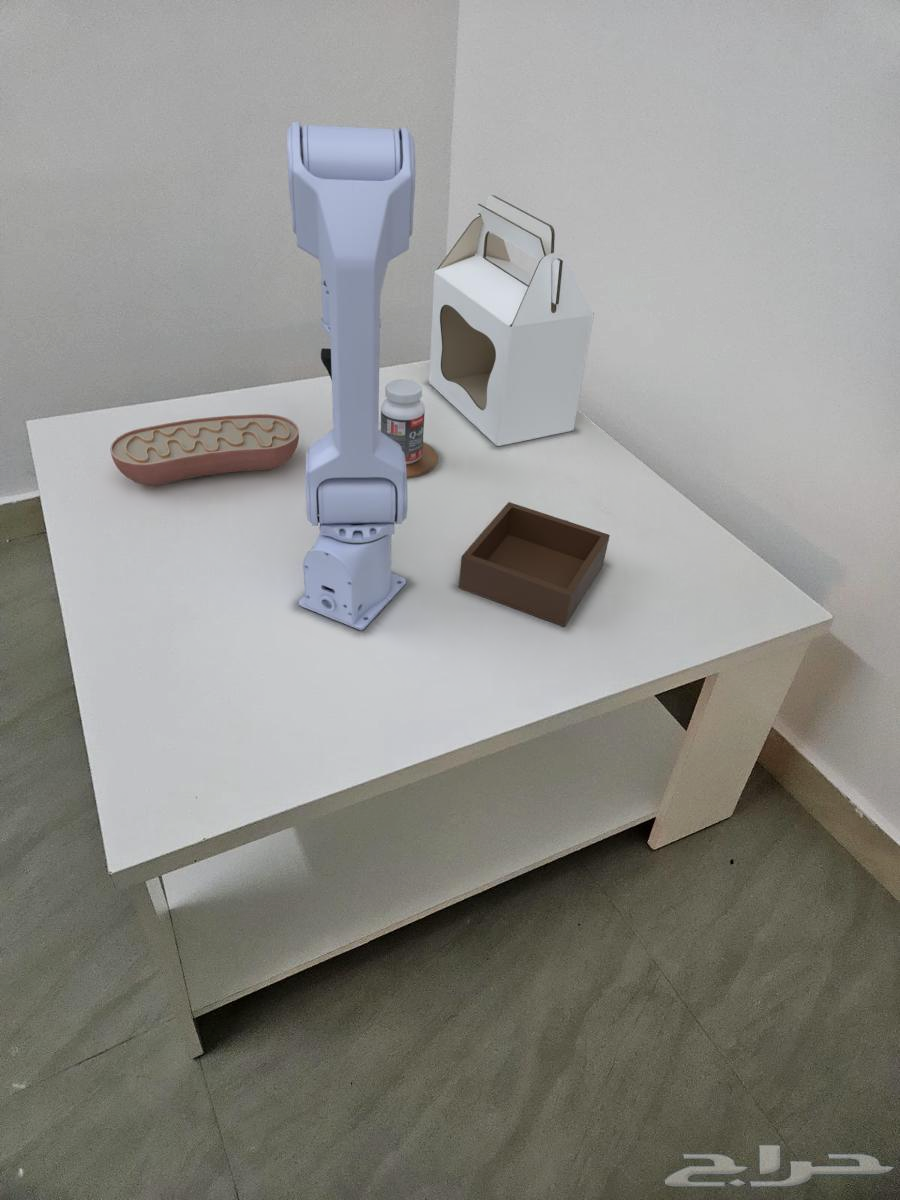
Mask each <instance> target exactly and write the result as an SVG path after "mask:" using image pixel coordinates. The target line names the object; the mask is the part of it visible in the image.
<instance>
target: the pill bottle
mask: <svg viewBox="0 0 900 1200" xmlns="http://www.w3.org/2000/svg"><path fill="white" fill-rule="evenodd" d="M384 389H385V392H384V395H385V397H386V398H385V399H384V400H383V401H382V403H381V406H380V431H381V432H382V433H383V434H385V435H386V436H388V437H389V438H391V439H392V440H394V441H395V442H397V443H398V444H399V445H400V446H401V448H402V451H403V452H404V455H405V461H406V464H411V463H414V462H416V461H418V460H419V459H420V458H421V456H422V453H423V442H424V433H425V430H424V429H425V406H424V403H423V401H422V400H421V399H422V397H423V387H422V385H421V384H420V383H419V382H417V381H415V380H412V379H400V378H399V379H394V380H391V381H389V382H388V383H386V384H385V387H384Z"/></svg>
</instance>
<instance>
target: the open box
mask: <svg viewBox="0 0 900 1200" xmlns="http://www.w3.org/2000/svg"><path fill="white" fill-rule="evenodd" d="M478 535H479V536H478V537H477V538H476V539H475V540H474V541H473V542H472V543H471V545H470V546H468V548H467V549H466V550H465V551H464V553H463V554H462V555H461V557H460V567H459V578H458V579H459V580H458V589H460V590H463V591H466V592H469V593H471V594H474V595H476V596H479V597H482V598H485V599H488V600H490V601H493V602H495V603H498V604H501V605H504V606H507V607H509V608H512V609H515V610H517V611H519V612H523V613H526V614H528V615H531V616H533V617H536V618H539V619H542V620H543V621H547V622H550V623H552V624H554V625H558V626H561V627H563V628H565V627H566V626H567V624H568V623H569V621H570V619H571V618H572V617H573V615H574V613H575V611H576V610H577V608H578V606H579V605H580V603H581V602H582V599H583V598H584V596H585V595H586V593H587V592H588V590H589V589H590V587H591V585H592V584H593V582H594V580H595V579H596V578H597V576H598V574H599V573H600V571H601V570H602V568H603V566H604V562H605V557H606V554H607V549H608V544H609V541H610V537H611V535H610V534H609V533H606V532H602V531H599V530H596V529H593V528H591V527H588V526H584V525H581V524H578V523H576V522H575V523H574V522H571V521H569V520H565V519H563V518H559V517H558V516H557V517H556V516H553V515H550V514H547V513H545V512H542V511H538V510H535V509H532V508H529V507H526V506H522V505H519V504H517V503H514V502H510V501H508V502H507V503H506V505H504V506H503V508H502V509H501V510H500V511H499V512H498V513H497V515H495V517H494V518H493V519H492V520H491V522H490V523H489V524H488V525H487V526H486V527H485V528H484V530H483V531H482V532H481V533H480V534H478Z"/></svg>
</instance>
